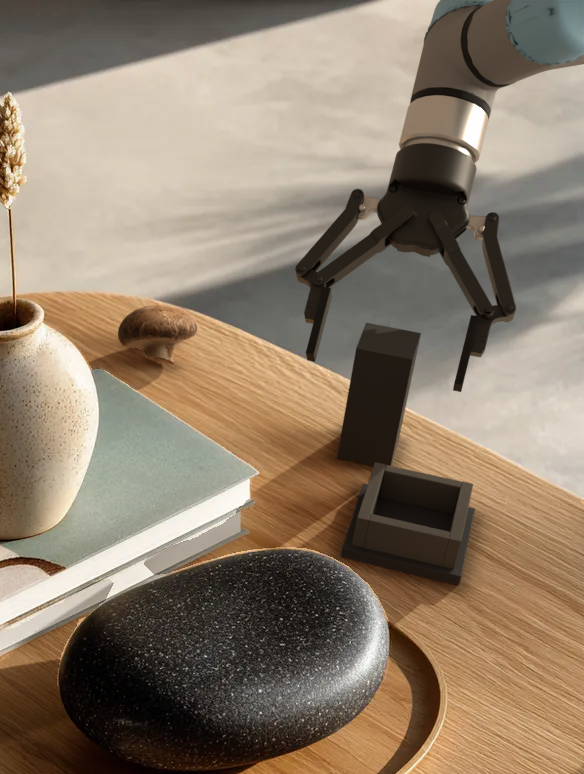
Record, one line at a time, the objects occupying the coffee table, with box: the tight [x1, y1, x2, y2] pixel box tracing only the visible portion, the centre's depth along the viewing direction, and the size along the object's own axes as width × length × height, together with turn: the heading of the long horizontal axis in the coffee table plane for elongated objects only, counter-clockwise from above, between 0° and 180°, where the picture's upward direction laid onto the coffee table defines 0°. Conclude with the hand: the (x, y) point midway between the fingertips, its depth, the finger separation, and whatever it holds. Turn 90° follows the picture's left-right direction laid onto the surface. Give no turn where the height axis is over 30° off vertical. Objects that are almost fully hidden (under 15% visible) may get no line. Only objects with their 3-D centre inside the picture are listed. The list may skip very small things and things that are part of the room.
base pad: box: [340, 462, 476, 586], centre depth 115 cm, size 10×10×4 cm
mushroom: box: [117, 304, 198, 365], centre depth 137 cm, size 8×8×6 cm
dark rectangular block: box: [336, 322, 422, 468], centre depth 123 cm, size 5×5×12 cm
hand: (382, 372), depth 123 cm, fingers open, 13 cm apart
